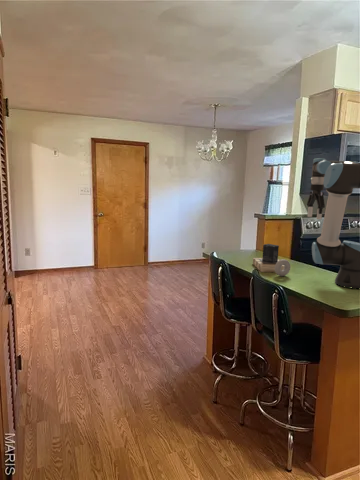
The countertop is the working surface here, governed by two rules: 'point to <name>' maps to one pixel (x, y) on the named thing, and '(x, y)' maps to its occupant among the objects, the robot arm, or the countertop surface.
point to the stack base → (265, 265)
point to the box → (270, 253)
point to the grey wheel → (285, 270)
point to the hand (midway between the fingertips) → (314, 218)
